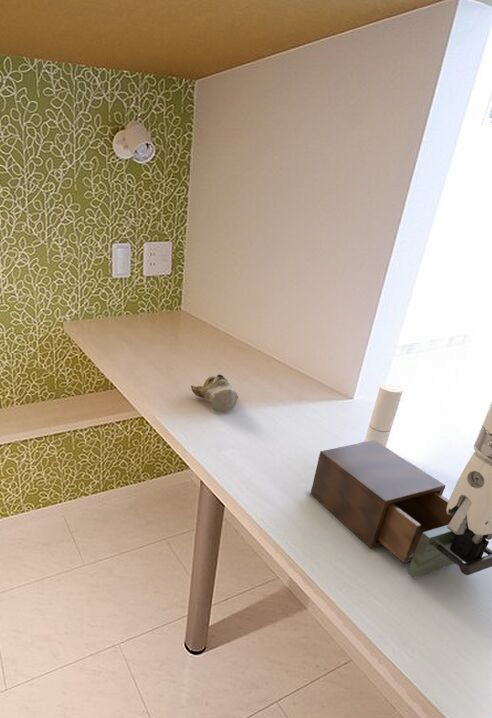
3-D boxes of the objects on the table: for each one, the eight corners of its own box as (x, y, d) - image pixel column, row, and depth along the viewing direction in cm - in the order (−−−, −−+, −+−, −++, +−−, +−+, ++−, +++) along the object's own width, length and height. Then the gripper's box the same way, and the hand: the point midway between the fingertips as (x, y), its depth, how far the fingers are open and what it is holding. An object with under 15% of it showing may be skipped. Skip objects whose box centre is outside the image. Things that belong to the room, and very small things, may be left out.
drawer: (501, 584, 63) (522, 543, 60) (444, 606, 59) (463, 564, 56) (396, 504, 79) (408, 469, 75) (346, 518, 75) (356, 481, 72)
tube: (382, 456, 95) (402, 394, 88) (361, 450, 97) (378, 388, 90) (385, 447, 98) (403, 386, 91) (364, 441, 100) (381, 382, 93)
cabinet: (427, 531, 74) (445, 485, 70) (370, 548, 70) (385, 501, 66) (362, 481, 86) (374, 439, 82) (310, 493, 82) (320, 451, 78)
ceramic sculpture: (210, 385, 105) (190, 366, 118) (208, 418, 108) (188, 395, 122) (251, 382, 107) (226, 364, 121) (247, 414, 111) (223, 392, 124)
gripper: (503, 475, 48) (450, 591, 56) (588, 453, 53) (527, 563, 61) (442, 441, 55) (401, 549, 63) (522, 424, 59) (475, 527, 67)
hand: (463, 556), depth 62 cm, fingers closed
